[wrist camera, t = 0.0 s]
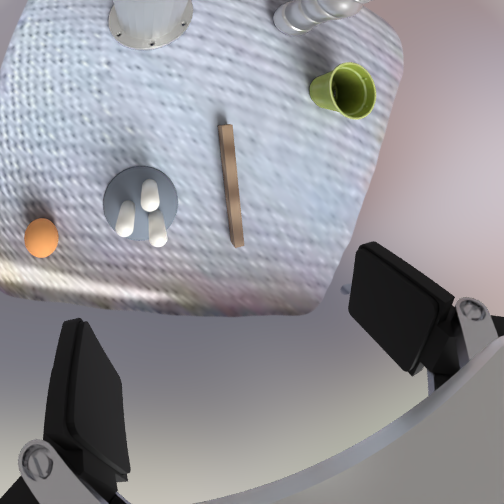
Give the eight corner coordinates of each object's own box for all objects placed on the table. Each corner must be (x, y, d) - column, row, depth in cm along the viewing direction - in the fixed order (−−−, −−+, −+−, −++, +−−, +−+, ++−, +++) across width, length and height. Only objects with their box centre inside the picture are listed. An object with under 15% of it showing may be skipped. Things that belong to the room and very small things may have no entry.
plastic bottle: (261, 13, 33) (332, -32, 16) (293, 3, 33) (370, -35, 16) (281, 44, 37) (361, 14, 20) (311, 32, 37) (394, 7, 20)
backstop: (217, 125, 40) (221, 125, 38) (227, 124, 40) (232, 124, 38) (231, 241, 50) (235, 247, 48) (239, 239, 50) (244, 245, 48)
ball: (27, 218, 35) (13, 232, 30) (56, 208, 36) (44, 221, 31) (38, 251, 37) (27, 268, 32) (66, 242, 39) (58, 259, 34)
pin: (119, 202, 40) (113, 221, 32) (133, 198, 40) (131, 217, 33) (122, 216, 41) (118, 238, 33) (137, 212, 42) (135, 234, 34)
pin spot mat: (95, 177, 37) (95, 177, 37) (171, 158, 40) (171, 159, 40) (114, 247, 43) (114, 247, 42) (183, 230, 46) (183, 231, 46)
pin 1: (140, 180, 40) (138, 195, 32) (155, 177, 40) (157, 190, 33) (143, 195, 41) (142, 213, 33) (158, 192, 41) (161, 209, 34)
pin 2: (146, 211, 42) (147, 232, 35) (161, 207, 43) (165, 228, 35) (150, 224, 43) (151, 248, 36) (164, 221, 44) (168, 244, 36)
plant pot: (298, 65, 39) (327, 59, 32) (342, 69, 42) (374, 66, 34) (302, 117, 44) (331, 119, 37) (345, 116, 46) (377, 119, 39)
